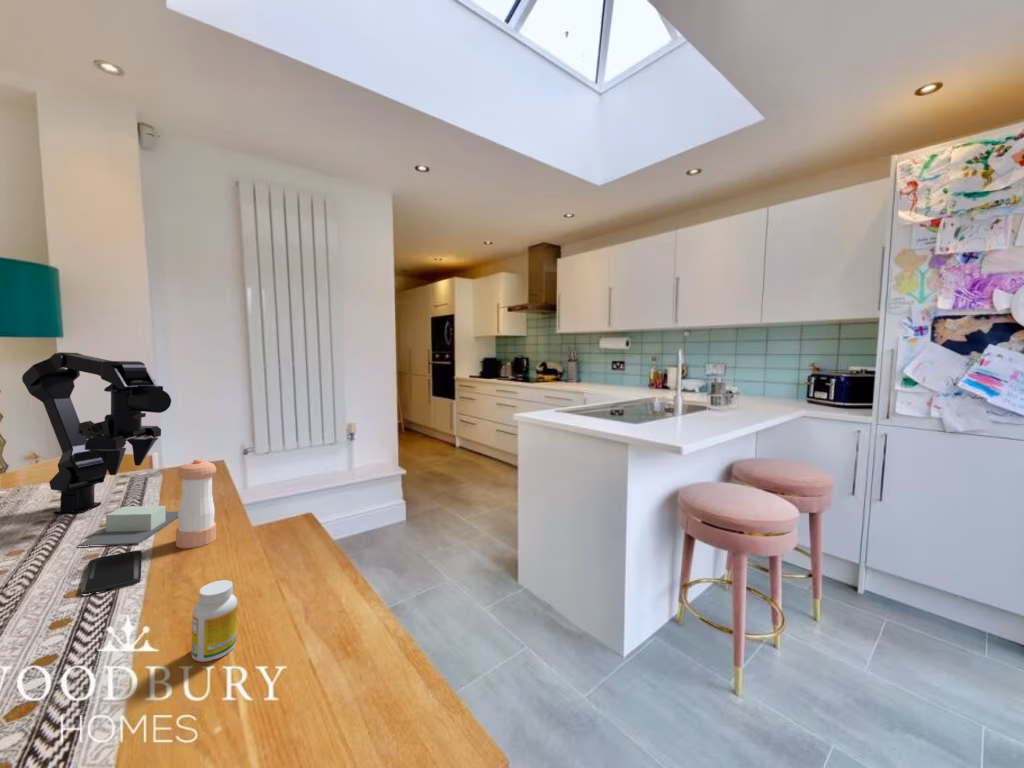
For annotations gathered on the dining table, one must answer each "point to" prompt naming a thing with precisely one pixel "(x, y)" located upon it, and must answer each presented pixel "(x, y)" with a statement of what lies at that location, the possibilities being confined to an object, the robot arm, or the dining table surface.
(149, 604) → the dining table surface
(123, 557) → the phone
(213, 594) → the supplement bottle
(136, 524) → the card case
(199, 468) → the pepper shaker
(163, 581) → the dining table surface
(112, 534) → the rubber mat
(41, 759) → the dining table surface
